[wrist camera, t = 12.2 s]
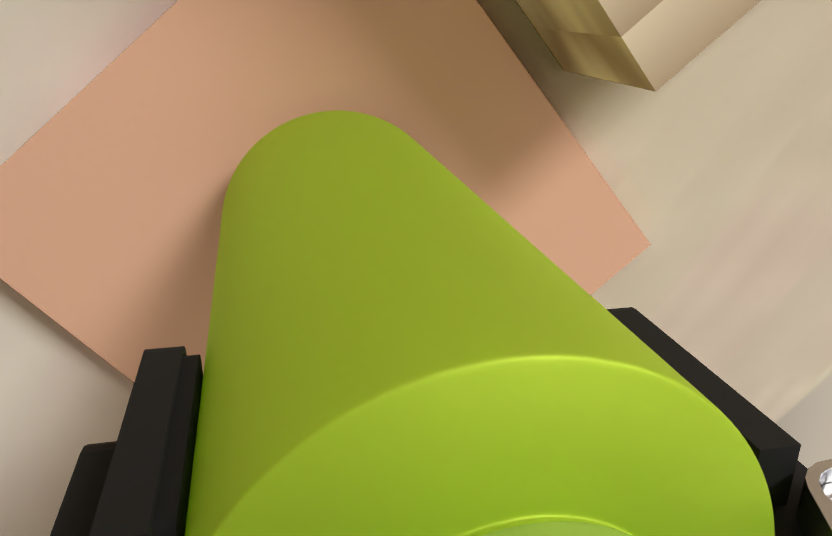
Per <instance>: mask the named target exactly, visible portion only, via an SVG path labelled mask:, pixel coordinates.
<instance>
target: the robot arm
mask: <svg viewBox="0 0 832 536" xmlns="http://www.w3.org/2000/svg"><path fill="white" fill-rule="evenodd" d="M606 310H608V311H609V312H610V313H611V314H612V315H613V316H614V317H615V318H617V319H618V320H619V321H620V322H621V323H622V324H623V325H624V326H626V327H627V328H628V329H629V330H630V331H631V332H632V333H634V334H635V335H636V336H637V337H638V338H639V339H640V340H641V341H643V342H644V343H645V344H646V345H647V346H648V347H649V348H651V349H652V350H653V351H654V352H655V353H656V354H657V355H658V356H660V357H661V358H662V359H663V360H664V361H665V362H666V363H668V364H669V365H670V366H671V367H672V368H673V369H674V370H675V371H677V372H678V373H679V374H680V375H681V376H682V377H683V378H684V379H686V380H687V381H688V382H689V383H690V384H691V385H692V386H694V387H695V388H696V389H697V390H698V391H699V392H700V393H701V394H703V395H704V396H705V397H706V398H707V399H708V400H709V401H711V402H712V403H713V404H714V405H715V406H716V407H717V408H718V409H719V410H720V411H722V413H723V414H724V415H725V416H726V417H727V418H728V419H729V420H730V421H731V422H732V423H733V424H734V425H735V427H736V428H737V429H738V430H739V431H740V433H741V434H742V436H743V437H744V438H745V440H746V441H747V443H748V444H749V446H750V448H751V449H752V451H753V453H754V455H755V456H756V458H757V460H758V462H759V465H760V467H761V469H762V471H763V474H764V477H765V479H766V482H767V486H768V489H769V493H770V497H771V502H772V508H773V516H774V531H775V536H832V459H829V460H825V461H821V462H817V463H815V464H814V465H813V466H811V467H810V468H808V469H807V468H806V467H805V466H804V465H802V464H801V463H800V462H799V461H798V455H799V451H800V447H801V444H800V443H798V442H797V441H796V440H795V439H794V438H792V437H791V436H790V435H789V434H788V433H786V432H785V431H784V430H783V429H781V428H780V427H779V426H778V425H777V424H775V423H774V422H773V421H772V420H770V419H769V418H768V417H767V416H766V415H764V414H763V413H762V412H761V411H759V410H758V409H757V408H756V407H755V406H753V405H752V404H751V403H750V402H748V401H747V400H746V399H745V398H744V397H742V396H741V395H740V394H739V393H737V392H736V391H735V390H734V389H733V388H731V387H730V386H729V385H728V384H726V383H725V382H724V381H723V380H722V379H720V378H719V377H718V376H717V375H715V374H714V373H713V372H712V371H711V370H709V369H708V368H707V367H706V366H704V365H703V364H702V363H701V362H700V361H698V360H697V359H696V358H695V357H693V356H692V355H691V354H690V353H689V352H687V351H686V350H685V349H684V348H682V347H681V346H680V345H679V344H678V343H676V342H675V341H674V340H673V339H672V338H670V337H669V336H668V335H667V334H665V333H664V332H663V331H662V330H661V329H659V328H658V327H657V326H656V325H654V324H653V323H652V322H651V321H650V320H648V319H647V318H646V317H645V316H643V315H642V314H641V313H640V312H639V311H637V310H636V309H634V308H632V307H629V308H618V309H606ZM202 382H203V370H202V361H201V356H200V354H199V355H188V356H187V353H186V349H185V346H179V347H167V348H156V349H145V350H144V352H143V355H142V358H141V362H140V365H139V368H138V372H137V375H136V379H135V382H134V385H133V389H132V392H131V396H130V399H129V402H128V406H127V409H126V412H125V416H124V419H123V423H122V426H121V429H120V433H119V436H118V440H117V441H115V442H106V443H97V444H88V445H86V446H84V447H83V449H82V451H81V453H80V456H79V458H78V461H77V464H76V466H75V469H74V472H73V475H72V477H71V480H70V483H69V486H68V488H67V491H66V494H65V496H64V499H63V502H62V505H61V507H60V510H59V513H58V515H57V518H56V521H55V524H54V526H53V529H52V532H51V535H50V536H185V529H186V520H187V512H188V503H189V494H190V486H191V477H192V469H193V460H194V451H195V443H196V434H197V425H198V417H199V408H200V400H201V391H202Z"/></svg>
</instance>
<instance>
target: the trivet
mask: <svg viewBox="0 0 832 536" xmlns="http://www.w3.org/2000/svg"><path fill="white" fill-rule="evenodd" d="M336 110H340V111H353V112H359V113H364V114H368V115H372V116H375V117H377V118H380V119H383V120H385V121H387V122H389V123H391V124H393V125H395V126H396V127H398V128H400V129H401V130H403V131H404V132H405V133H407V134H408V135H409V136H410V137H412V138H413V139H414V140H415V141H416V142H417V143H418V144H420V145H421V146H422V147H423V148H424V149H425V150H426V151H427V152H429V153H430V154H431V155H432V156H433V157H434V158H435V159H437V160H438V161H439V162H440V163H441V164H442V165H443V166H444V167H446V168H447V169H448V170H449V171H450V172H451V173H452V174H454V175H455V176H456V177H457V178H458V179H459V180H460V181H461V182H463V183H464V184H465V185H466V186H467V187H468V188H469V189H470V190H472V191H473V192H474V193H475V194H476V195H477V196H478V197H480V198H481V199H482V200H483V201H484V202H485V203H486V204H487V205H489V206H490V207H491V208H492V209H493V210H494V211H495V212H497V213H498V214H499V215H500V216H501V217H502V218H503V219H504V220H506V221H507V222H508V223H509V224H510V225H511V226H512V227H514V228H515V229H516V230H517V231H518V232H519V233H520V234H521V235H523V236H524V237H525V238H526V239H527V240H528V241H529V242H531V243H532V244H533V245H534V246H535V247H536V248H537V249H538V250H540V251H541V252H542V253H543V254H544V255H545V256H546V257H547V258H549V259H550V260H551V261H552V262H553V263H554V264H555V265H557V266H558V267H559V268H560V269H561V270H562V271H563V272H564V273H566V274H567V275H568V276H569V277H570V278H571V279H572V280H574V281H575V282H576V283H577V284H578V285H579V286H580V287H581V288H583V289H584V290H585V291H586V292H587V293H588V294H589V295H591V294H593V293H594V292H595V291H596V290H597V289H598V288H600V287H601V286H602V285H603V284H604V283H606V282H607V281H608V280H609V279H610V278H611V277H613V276H614V275H615V274H616V273H617V272H619V271H620V270H621V269H622V268H623V267H624V266H626V265H627V264H628V263H629V262H630V261H632V260H633V259H634V258H635V257H636V256H637V255H639V254H640V253H641V252H642V251H643V250H645V249H646V248H647V247H648V246H649V245H651V244H650V243H649V241H648V240H647V239H646V237H645V236H644V234H643V233H642V232H641V230H640V229H639V227H638V226H637V225H636V223H635V222H634V220H633V219H632V218H631V216H630V215H629V213H628V212H627V211H626V209H625V208H624V206H623V205H622V204H621V202H620V201H619V199H618V198H617V197H616V195H615V194H614V192H613V191H612V190H611V188H610V187H609V185H608V184H607V183H606V181H605V180H604V178H603V177H602V176H601V174H600V173H599V171H598V170H597V169H596V167H595V166H594V164H593V163H592V162H591V160H590V159H589V157H588V156H587V155H586V153H585V152H584V150H583V149H582V148H581V146H580V145H579V143H578V142H577V141H576V139H575V138H574V136H573V135H572V133H571V132H570V131H569V129H568V128H567V126H566V125H565V124H564V122H563V121H562V119H561V118H560V117H559V115H558V114H557V112H556V111H555V110H554V108H553V107H552V105H551V104H550V103H549V101H548V100H547V98H546V97H545V96H544V94H543V93H542V91H541V90H540V89H539V87H538V86H537V84H536V83H535V82H534V80H533V79H532V77H531V76H530V75H529V73H528V72H527V70H526V69H525V68H524V66H523V65H522V63H521V62H520V61H519V59H518V58H517V56H516V55H515V54H514V52H513V51H512V49H511V48H510V47H509V45H508V44H507V42H506V41H505V40H504V38H503V37H502V35H501V34H500V33H499V31H498V30H497V28H496V27H495V26H494V24H493V23H492V21H491V20H490V19H489V17H488V16H487V14H486V13H485V11H484V10H483V9H482V7H481V6H480V4H479V3H478V2H477V0H178V1H177V2H176V3H175V4H174V5H173V6H172V7H171V8H170V9H169V10H167V11H166V12H165V13H164V14H163V15H162V16H161V17H160V18H159V19H158V20H157V21H156V22H155V23H154V24H152V25H151V26H150V27H149V28H148V29H147V30H146V31H145V32H144V33H143V34H142V35H141V36H140V37H139V38H137V39H136V40H135V41H134V42H133V43H132V44H131V45H130V46H129V47H128V48H127V49H126V50H125V51H123V52H122V53H121V54H120V55H119V56H118V57H117V58H116V59H115V60H114V61H113V62H112V63H111V64H110V65H108V66H107V67H106V68H105V69H104V70H103V71H102V72H101V73H100V74H99V75H98V76H97V77H96V78H95V79H93V80H92V81H91V82H90V83H89V84H88V85H87V86H86V87H85V88H84V89H83V90H82V91H81V92H80V93H78V94H77V95H76V96H75V97H74V98H73V99H72V100H71V101H70V102H69V103H68V104H67V105H66V106H65V107H63V108H62V109H61V110H60V111H59V112H58V113H57V114H56V115H55V116H54V117H53V118H52V119H51V120H50V121H48V122H47V123H46V124H45V125H44V126H43V127H42V128H41V129H40V130H39V131H38V132H37V133H36V134H35V135H33V136H32V137H31V138H30V139H29V140H28V141H27V142H26V143H25V144H24V145H23V146H22V147H21V148H19V149H18V150H17V151H16V152H15V153H14V154H13V155H12V156H11V157H10V158H9V159H8V160H7V161H6V162H4V163H3V164H2V165H1V166H0V278H1V279H2V280H3V281H4V282H6V283H7V284H8V285H9V286H11V287H12V288H13V289H15V290H16V291H17V292H18V293H20V294H21V295H22V296H24V297H25V298H26V299H27V300H29V301H30V302H31V303H33V304H34V305H35V306H36V307H38V308H39V309H40V310H42V311H43V312H44V313H45V314H47V315H48V316H49V317H51V318H52V319H53V320H54V321H56V322H57V323H58V324H60V325H61V326H62V327H63V328H65V329H66V330H67V331H69V332H70V333H71V334H72V335H74V336H75V337H76V338H78V339H79V340H80V341H81V342H83V343H84V344H85V345H87V346H88V347H89V348H90V349H92V350H93V351H94V352H95V353H97V354H98V355H99V356H101V357H102V358H103V359H104V360H106V361H107V362H108V363H110V364H111V365H112V366H113V367H115V368H116V369H117V370H119V371H120V372H121V373H122V374H124V375H125V376H126V377H128V378H129V379H130V380H131V381H133V382H135V379H136V375H137V372H138V368H139V365H140V362H141V358H142V355H143V352H144V350H145V349H156V348H167V347H179V346H185V349H186V353H187V356H188V355H199V354H200V356H201V361H202V370H203V374H204V365H205V357H206V348H207V339H208V331H209V322H210V314H211V305H212V296H213V288H214V279H215V270H216V262H217V253H218V245H219V236H220V227H221V219H222V210H223V203H224V198H225V194H226V191H227V188H228V185H229V183H230V180H231V178H232V176H233V174H234V172H235V170H236V168H237V166H238V165H239V163H240V162H241V160H242V159H243V157H244V156H245V155H246V154H247V152H248V151H249V150H250V149H251V148H252V147H253V146H254V145H255V144H256V143H257V142H258V141H259V140H260V139H261V138H262V137H264V136H265V135H266V134H268V133H269V132H270V131H272V130H273V129H275V128H277V127H278V126H280V125H282V124H284V123H286V122H288V121H290V120H292V119H295V118H297V117H300V116H304V115H307V114H311V113H316V112H322V111H336Z"/></svg>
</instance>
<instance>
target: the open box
mask: <svg viewBox="0 0 832 536" xmlns="http://www.w3.org/2000/svg"><path fill="white" fill-rule="evenodd" d="M516 1H517V3H518V4H519V6H520V7H521V8H522V10H523V11H524V13H525V14H526V16H527V17H528V19H529V20H530V22H531V23H532V25H533V26H534V27H535V29H536V30H537V32H538V33H539V35H540V36H541V38H542V39H543V41H544V42H545V43H546V45H547V46H548V48H549V49H550V51H551V52H552V54H553V55H554V57H555V58H556V59H557V61H558V62H559V64H560V65H561V67H562V68H563V70H564V71H568V72H572V73H577V74H581V75H586V76H590V77H594V78H599V79H603V80H608V81H612V82H616V83H621V84H625V85H630V86H634V87H638V88H643V89H647V90H652V91H657V90H658V89H659V88H660V87H661V86H662V85H664V84H665V83H666V82H667V81H668V80H669V79H671V78H672V77H673V76H674V75H675V74H676V73H677V72H679V71H680V70H681V69H682V68H683V67H684V66H686V65H687V64H688V63H689V62H690V61H691V60H693V59H694V58H695V57H696V56H697V55H698V54H699V53H701V52H702V51H703V50H704V49H705V48H706V47H708V46H709V45H710V44H711V43H712V42H713V41H715V40H716V39H717V38H718V37H719V36H720V35H721V34H723V33H724V32H725V31H726V30H727V29H728V28H730V27H731V26H732V25H733V24H734V23H735V22H737V21H738V20H739V19H740V18H741V17H742V16H743V15H745V14H746V13H747V12H748V11H749V10H750V9H752V8H753V7H754V6H755V5H756V4H757V3H759V2H760V1H761V0H516Z"/></svg>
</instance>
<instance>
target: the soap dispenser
mask: <svg viewBox="0 0 832 536" xmlns="http://www.w3.org/2000/svg"><path fill="white" fill-rule="evenodd" d="M185 536H775V531H774V516H773V508H772V502H771V497H770V493H769V489H768V486H767V482H766V479H765V477H764V474H763V471H762V469H761V467H760V465H759V462H758V460H757V458H756V456H755V455H754V453H753V451H752V449H751V448H750V446H749V444H748V443H747V441H746V440H745V438H744V437H743V436H742V434H741V433H740V431H739V430H738V429H737V428H736V427H735V425H734V424H733V423H732V422H731V421H730V420H729V419H728V418H727V417H726V416H725V415H724V414H723V413H722V411H720V410H719V409H718V408H717V407H716V406H715V405H714V404H713V403H712V402H711V401H709V400H708V399H707V398H706V397H705V396H704V395H703V394H701V393H700V392H699V391H698V390H697V389H696V388H695V387H694V386H692V385H691V384H690V383H689V382H688V381H687V380H686V379H684V378H683V377H682V376H681V375H680V374H679V373H678V372H677V371H675V370H674V369H673V368H672V367H671V366H670V365H669V364H668V363H666V362H665V361H664V360H663V359H662V358H661V357H660V356H658V355H657V354H656V353H655V352H654V351H653V350H652V349H651V348H649V347H648V346H647V345H646V344H645V343H644V342H643V341H641V340H640V339H639V338H638V337H637V336H636V335H635V334H634V333H632V332H631V331H630V330H629V329H628V328H627V327H626V326H624V325H623V324H622V323H621V322H620V321H619V320H618V319H617V318H615V317H614V316H613V315H612V314H611V313H610V312H609V311H608V310H606V309H605V308H604V307H603V306H602V305H601V304H600V303H598V302H597V301H596V300H595V299H594V298H593V297H592V296H591V295H589V294H588V293H587V292H586V291H585V290H584V289H583V288H581V287H580V286H579V285H578V284H577V283H576V282H575V281H574V280H572V279H571V278H570V277H569V276H568V275H567V274H566V273H564V272H563V271H562V270H561V269H560V268H559V267H558V266H557V265H555V264H554V263H553V262H552V261H551V260H550V259H549V258H547V257H546V256H545V255H544V254H543V253H542V252H541V251H540V250H538V249H537V248H536V247H535V246H534V245H533V244H532V243H531V242H529V241H528V240H527V239H526V238H525V237H524V236H523V235H521V234H520V233H519V232H518V231H517V230H516V229H515V228H514V227H512V226H511V225H510V224H509V223H508V222H507V221H506V220H504V219H503V218H502V217H501V216H500V215H499V214H498V213H497V212H495V211H494V210H493V209H492V208H491V207H490V206H489V205H487V204H486V203H485V202H484V201H483V200H482V199H481V198H480V197H478V196H477V195H476V194H475V193H474V192H473V191H472V190H470V189H469V188H468V187H467V186H466V185H465V184H464V183H463V182H461V181H460V180H459V179H458V178H457V177H456V176H455V175H454V174H452V173H451V172H450V171H449V170H448V169H447V168H446V167H444V166H443V165H442V164H441V163H440V162H439V161H438V160H437V159H435V158H434V157H433V156H432V155H431V154H430V153H429V152H427V151H426V150H425V149H424V148H423V147H422V146H421V145H420V144H418V143H417V142H416V141H415V140H414V139H413V138H412V137H410V136H409V135H408V134H407V133H405V132H404V131H403V130H401V129H400V128H398V127H396V126H395V125H393V124H391V123H389V122H387V121H385V120H383V119H380V118H377V117H375V116H372V115H368V114H364V113H359V112H353V111H340V110H336V111H322V112H316V113H311V114H307V115H304V116H300V117H297V118H295V119H292V120H290V121H288V122H286V123H284V124H282V125H280V126H278V127H277V128H275V129H273V130H272V131H270V132H269V133H268V134H266V135H265V136H264V137H262V138H261V139H260V140H259V141H258V142H257V143H256V144H255V145H254V146H253V147H252V148H251V149H250V150H249V151H248V152H247V154H246V155H245V156H244V157H243V159H242V160H241V162H240V163H239V165H238V166H237V168H236V170H235V172H234V174H233V176H232V178H231V180H230V183H229V185H228V188H227V191H226V194H225V198H224V203H223V210H222V219H221V227H220V236H219V245H218V253H217V262H216V270H215V279H214V288H213V296H212V305H211V314H210V322H209V331H208V339H207V348H206V357H205V365H204V374H203V382H202V391H201V400H200V408H199V417H198V425H197V434H196V443H195V451H194V460H193V469H192V477H191V486H190V494H189V503H188V512H187V520H186V529H185Z"/></svg>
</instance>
